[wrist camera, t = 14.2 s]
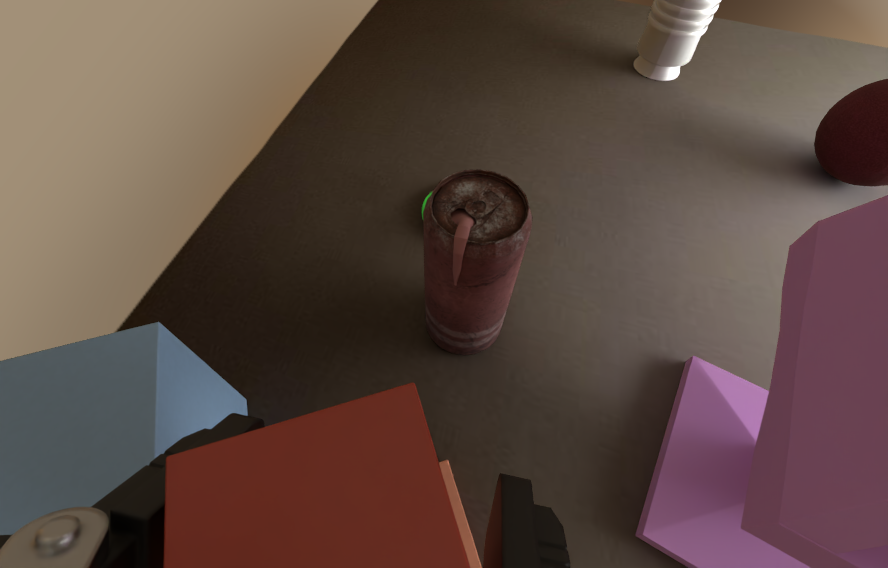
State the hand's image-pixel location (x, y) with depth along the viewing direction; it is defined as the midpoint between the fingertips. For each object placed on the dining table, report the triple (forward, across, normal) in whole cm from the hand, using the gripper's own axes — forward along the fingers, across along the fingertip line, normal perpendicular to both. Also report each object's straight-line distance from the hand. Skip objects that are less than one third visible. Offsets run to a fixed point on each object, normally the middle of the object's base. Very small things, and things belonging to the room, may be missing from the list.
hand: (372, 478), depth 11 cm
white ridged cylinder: (+55, -19, -27) cm, 64 cm away
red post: (+3, 0, +6) cm, 6 cm away
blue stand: (+14, +15, +14) cm, 25 cm away
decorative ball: (+43, -37, -16) cm, 59 cm away
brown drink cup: (+24, -1, +3) cm, 25 cm away
